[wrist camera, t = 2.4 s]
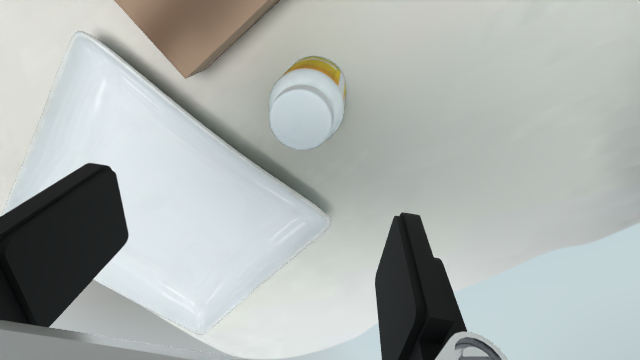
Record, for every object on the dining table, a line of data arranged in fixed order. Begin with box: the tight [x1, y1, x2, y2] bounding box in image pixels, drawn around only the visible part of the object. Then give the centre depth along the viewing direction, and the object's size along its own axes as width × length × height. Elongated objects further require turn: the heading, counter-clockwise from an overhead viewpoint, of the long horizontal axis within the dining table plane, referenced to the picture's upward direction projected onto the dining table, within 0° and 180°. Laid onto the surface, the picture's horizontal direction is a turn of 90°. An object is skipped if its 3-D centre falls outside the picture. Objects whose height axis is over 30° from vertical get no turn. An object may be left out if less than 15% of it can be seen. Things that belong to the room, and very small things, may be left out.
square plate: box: [1, 31, 331, 335], centre depth 35 cm, size 27×27×4 cm
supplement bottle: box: [269, 56, 346, 150], centre depth 24 cm, size 5×5×10 cm
